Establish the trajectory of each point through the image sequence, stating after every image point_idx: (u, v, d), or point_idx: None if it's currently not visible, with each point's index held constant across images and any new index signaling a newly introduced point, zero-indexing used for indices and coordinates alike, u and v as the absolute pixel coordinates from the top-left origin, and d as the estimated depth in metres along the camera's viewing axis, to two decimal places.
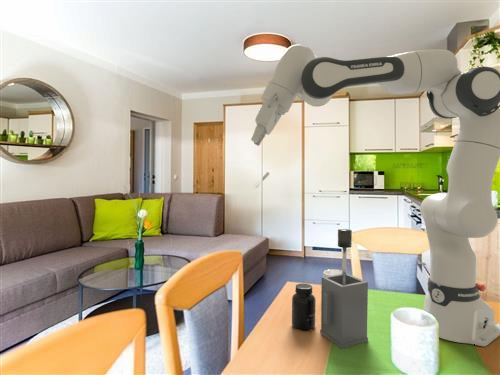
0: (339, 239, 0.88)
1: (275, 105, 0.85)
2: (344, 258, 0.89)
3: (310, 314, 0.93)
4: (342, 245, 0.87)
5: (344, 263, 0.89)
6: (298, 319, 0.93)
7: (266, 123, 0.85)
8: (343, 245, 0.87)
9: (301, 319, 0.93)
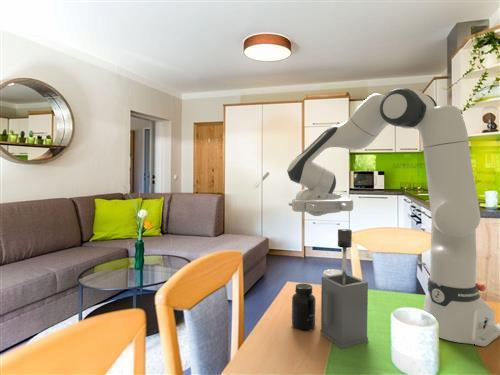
0: (339, 239, 0.88)
1: (292, 200, 1.12)
2: (344, 258, 0.89)
3: (310, 314, 0.93)
4: (342, 245, 0.87)
5: (344, 263, 0.89)
6: (298, 319, 0.93)
7: (294, 201, 1.07)
8: (343, 245, 0.87)
9: (301, 319, 0.93)
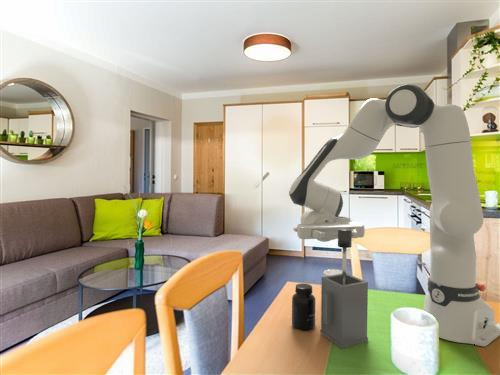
0: (339, 239, 0.88)
1: None
2: (344, 258, 0.89)
3: (310, 314, 0.93)
4: (342, 245, 0.87)
5: (344, 263, 0.89)
6: (298, 319, 0.93)
7: (300, 228, 0.97)
8: (343, 245, 0.87)
9: (301, 319, 0.93)
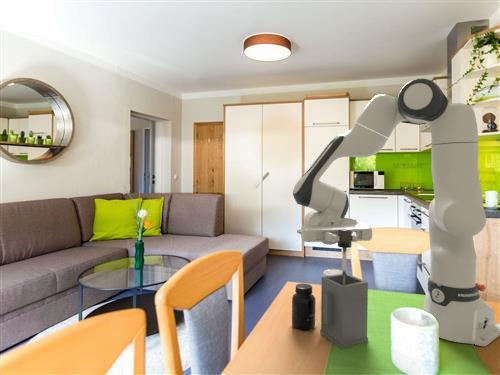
0: (339, 239, 0.88)
1: (301, 227, 0.97)
2: (344, 258, 0.89)
3: (310, 314, 0.93)
4: (342, 245, 0.87)
5: (344, 263, 0.89)
6: (298, 319, 0.93)
7: (304, 230, 0.92)
8: (343, 245, 0.87)
9: (301, 319, 0.93)
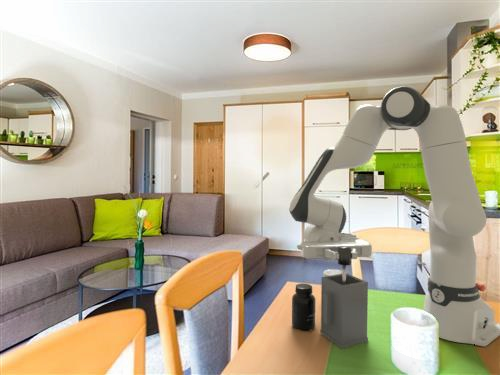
0: (339, 256, 0.88)
1: (301, 243, 0.97)
2: (344, 275, 0.89)
3: (310, 314, 0.93)
4: (342, 262, 0.88)
5: (344, 280, 0.89)
6: (298, 319, 0.93)
7: (304, 247, 0.92)
8: (343, 263, 0.87)
9: (301, 319, 0.93)
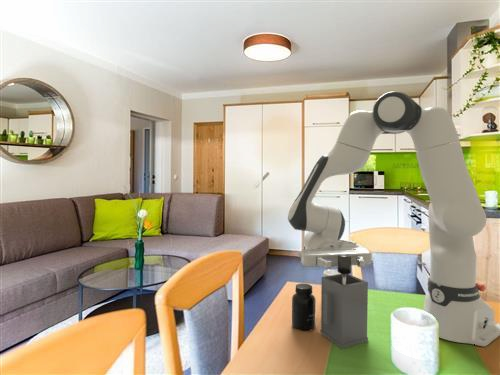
0: (339, 265, 0.88)
1: (301, 251, 0.98)
2: (344, 284, 0.89)
3: (310, 314, 0.93)
4: (342, 271, 0.88)
5: None
6: (298, 319, 0.93)
7: (304, 255, 0.92)
8: (343, 271, 0.88)
9: (301, 319, 0.93)
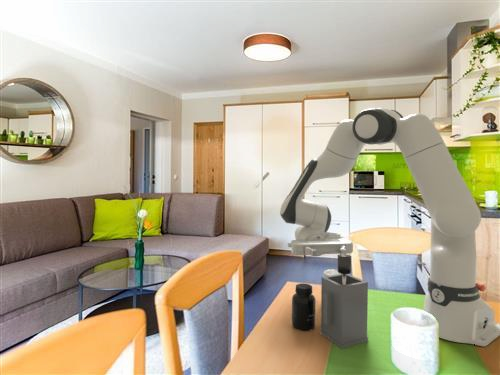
0: (339, 265, 0.88)
1: (291, 241, 1.10)
2: (344, 284, 0.89)
3: (310, 314, 0.93)
4: (342, 271, 0.88)
5: None
6: (298, 319, 0.93)
7: (293, 245, 1.05)
8: (343, 271, 0.88)
9: (301, 319, 0.93)
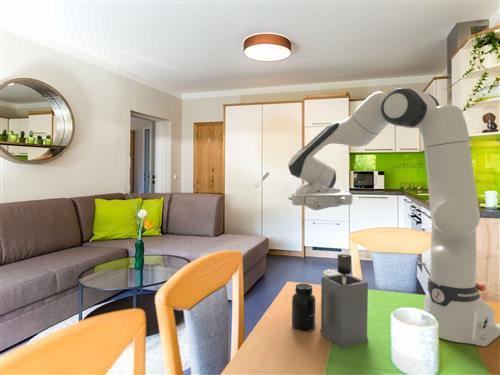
0: (339, 265, 0.88)
1: None
2: (344, 284, 0.89)
3: (310, 314, 0.93)
4: (342, 271, 0.88)
5: None
6: (298, 319, 0.93)
7: (294, 195, 1.08)
8: (343, 271, 0.88)
9: (301, 319, 0.93)
